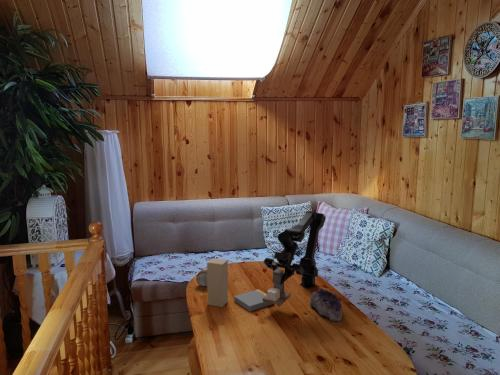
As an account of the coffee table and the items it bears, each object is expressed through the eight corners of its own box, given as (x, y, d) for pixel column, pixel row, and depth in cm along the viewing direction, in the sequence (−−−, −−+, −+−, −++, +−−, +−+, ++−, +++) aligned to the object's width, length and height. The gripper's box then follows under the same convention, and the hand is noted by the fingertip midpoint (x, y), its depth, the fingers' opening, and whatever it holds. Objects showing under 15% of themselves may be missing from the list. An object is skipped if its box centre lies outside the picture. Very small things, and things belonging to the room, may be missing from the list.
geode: (353, 320, 178) (351, 299, 175) (329, 327, 174) (328, 307, 172) (328, 299, 196) (327, 280, 194) (307, 306, 193) (305, 287, 190)
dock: (258, 294, 204) (258, 289, 203) (273, 303, 193) (273, 298, 193) (234, 301, 196) (234, 296, 196) (249, 311, 186) (249, 306, 185)
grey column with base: (273, 292, 192) (272, 266, 188) (290, 296, 187) (289, 270, 184) (262, 302, 184) (261, 275, 180) (280, 307, 179) (278, 280, 176)
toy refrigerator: (228, 300, 196) (228, 259, 193) (222, 307, 190) (222, 264, 186) (213, 298, 199) (212, 257, 196) (207, 304, 192) (206, 262, 189)
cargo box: (272, 295, 185) (271, 287, 184) (279, 297, 183) (279, 289, 182) (267, 299, 182) (267, 291, 181) (275, 301, 180) (275, 293, 179)
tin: (225, 285, 215) (225, 270, 213) (224, 288, 212) (224, 272, 210) (197, 284, 216) (196, 269, 215) (195, 287, 213) (195, 271, 212)
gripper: (265, 241, 191) (252, 271, 184) (301, 247, 181) (289, 279, 173) (273, 252, 199) (262, 281, 191) (308, 259, 189) (297, 290, 181)
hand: (277, 283), depth 184 cm, fingers closed on grey column with base, 3 cm apart
